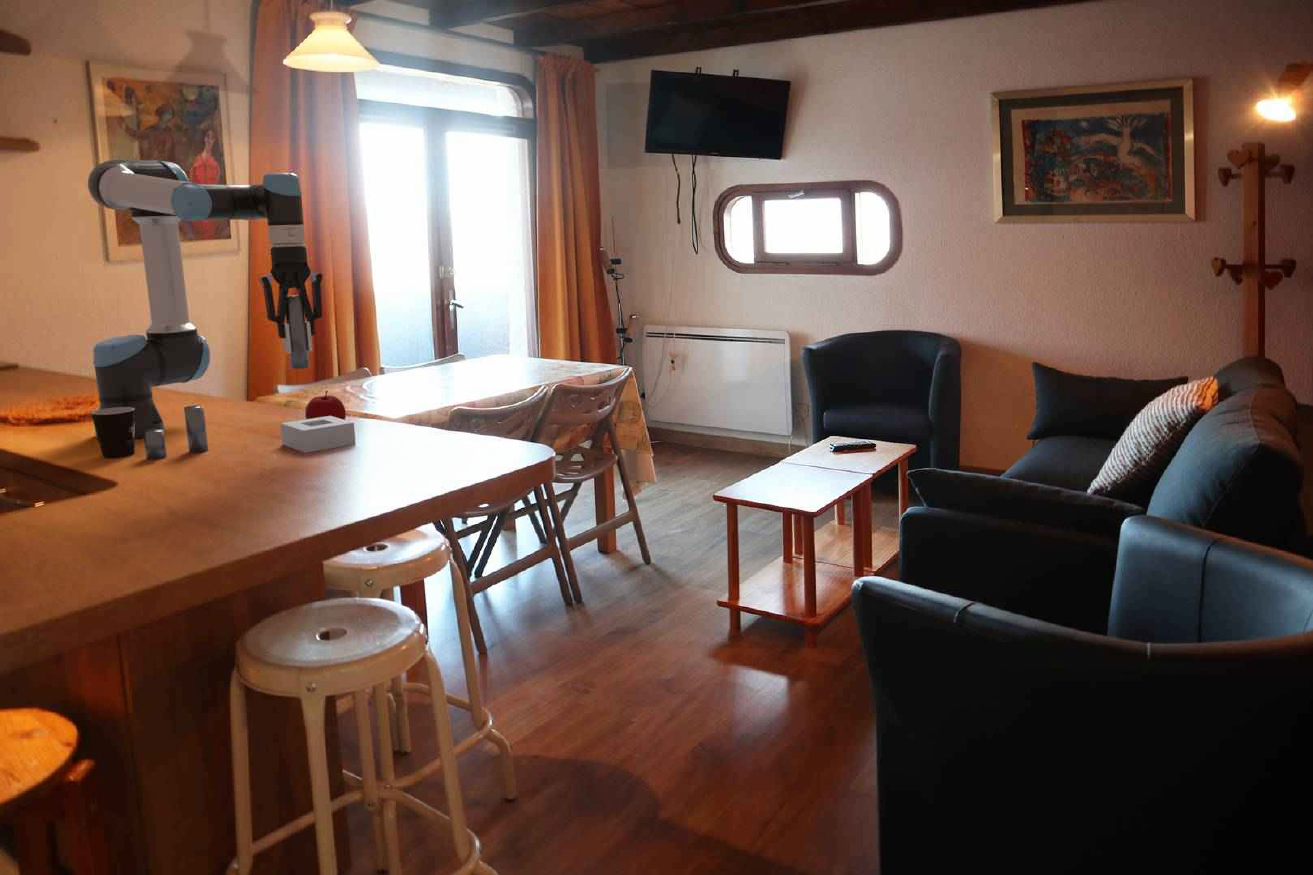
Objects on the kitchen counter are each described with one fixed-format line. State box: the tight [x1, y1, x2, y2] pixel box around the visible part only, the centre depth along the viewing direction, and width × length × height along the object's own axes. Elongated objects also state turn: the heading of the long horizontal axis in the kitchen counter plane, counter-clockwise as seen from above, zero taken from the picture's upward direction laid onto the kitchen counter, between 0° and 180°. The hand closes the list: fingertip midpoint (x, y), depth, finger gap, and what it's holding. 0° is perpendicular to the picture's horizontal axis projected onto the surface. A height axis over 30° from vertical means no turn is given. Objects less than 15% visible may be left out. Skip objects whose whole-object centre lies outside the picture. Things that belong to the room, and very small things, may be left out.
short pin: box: [143, 429, 168, 461], centre depth 235 cm, size 4×4×6 cm
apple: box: [305, 390, 347, 420], centre depth 259 cm, size 9×9×10 cm
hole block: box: [280, 416, 357, 454], centre depth 245 cm, size 12×12×5 cm
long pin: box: [285, 294, 310, 370], centre depth 240 cm, size 4×4×16 cm
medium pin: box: [183, 404, 209, 454], centre depth 240 cm, size 4×4×10 cm
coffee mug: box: [90, 407, 136, 459], centre depth 239 cm, size 12×9×10 cm
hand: (298, 351), depth 241 cm, fingers closed on long pin, 4 cm apart
